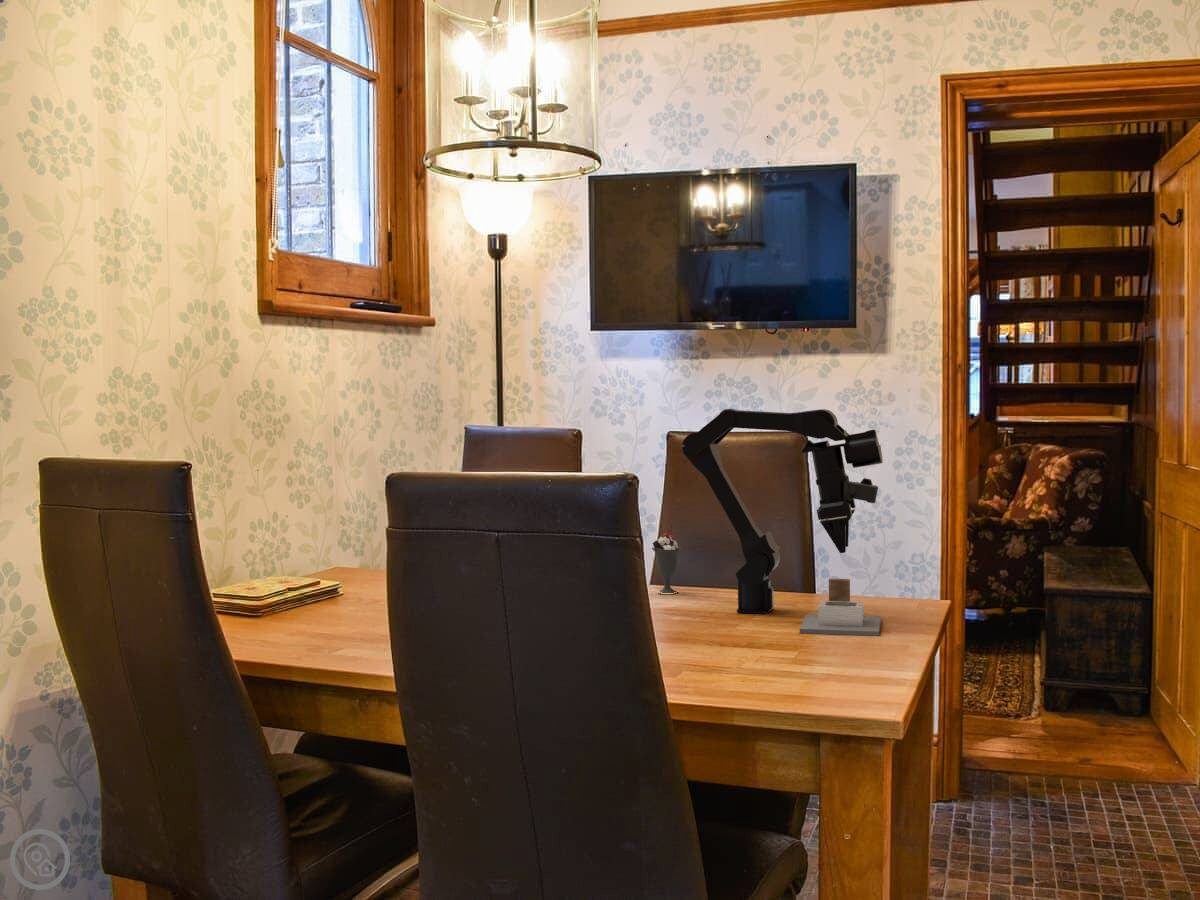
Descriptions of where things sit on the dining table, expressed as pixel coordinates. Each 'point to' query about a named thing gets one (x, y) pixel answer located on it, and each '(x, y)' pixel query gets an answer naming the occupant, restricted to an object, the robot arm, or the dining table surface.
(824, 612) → the white hollow frame
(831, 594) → the wooden block
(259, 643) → the dining table surface
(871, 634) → the slate board
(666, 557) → the sundae
